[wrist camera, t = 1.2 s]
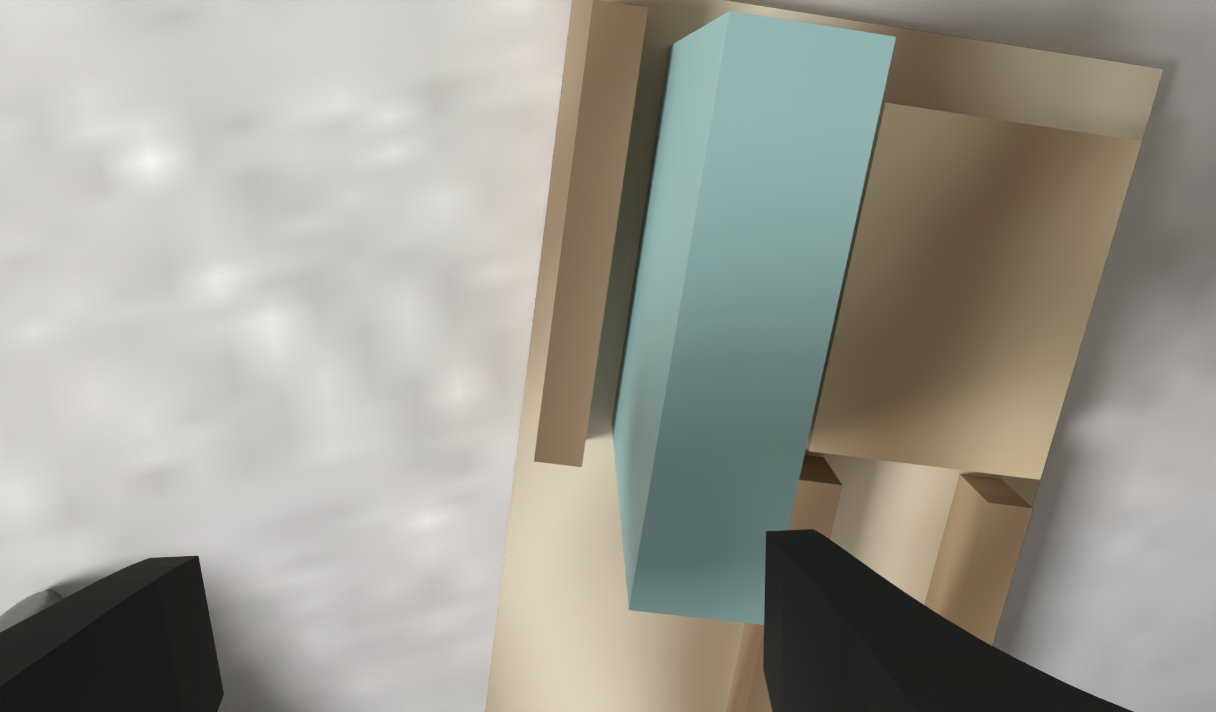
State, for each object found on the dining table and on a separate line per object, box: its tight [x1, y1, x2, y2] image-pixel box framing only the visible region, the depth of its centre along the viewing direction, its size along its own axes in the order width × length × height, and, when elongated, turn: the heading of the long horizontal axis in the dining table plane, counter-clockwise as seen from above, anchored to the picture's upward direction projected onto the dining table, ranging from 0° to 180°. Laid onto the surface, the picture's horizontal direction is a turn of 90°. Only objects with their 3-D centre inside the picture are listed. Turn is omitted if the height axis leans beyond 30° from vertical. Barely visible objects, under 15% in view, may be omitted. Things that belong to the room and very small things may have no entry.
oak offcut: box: [806, 103, 1142, 480], centre depth 18 cm, size 5×7×1 cm
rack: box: [485, 0, 1163, 712], centre depth 20 cm, size 12×19×2 cm, turn 172°
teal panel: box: [612, 11, 896, 625], centre depth 15 cm, size 2×8×8 cm, turn 172°
